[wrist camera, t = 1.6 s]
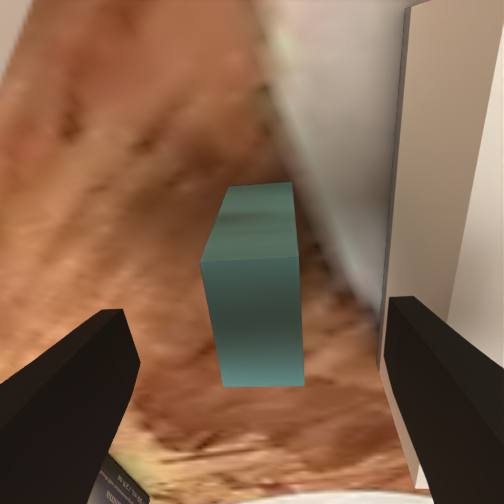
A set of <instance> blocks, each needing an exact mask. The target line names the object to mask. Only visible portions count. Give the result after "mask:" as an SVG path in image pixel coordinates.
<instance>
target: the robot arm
mask: <svg viewBox="0 0 504 504" xmlns="http://www.w3.org/2000/svg"><path fill="white" fill-rule="evenodd" d="M383 356H384V360H385V364H386V368H387V373H388V377H389V381H390V384H391V388H392V392H393V395H394V397H395V400H396V403H397V405H398V408H399V411H400V413H401V416H402V419H403V421H404V424H405V426H406V429H407V432H408V434H409V437H410V439H411V442H412V444H413V447H414V450H415V452H416V455H417V457H418V460H419V463H420V465H421V468H422V470H423V473H424V475H425V478H426V481H427V484H428V486H429V489H430V492H431V495H432V498H433V501H434V504H504V368H503V367H501V366H500V365H499V364H497V363H496V362H494V361H493V360H492V359H490V358H489V357H488V356H487V355H485V354H484V353H483V352H481V351H480V350H479V349H477V348H476V347H475V346H474V345H472V344H471V343H470V342H469V341H467V340H466V339H465V338H464V337H462V336H461V335H460V334H459V333H457V332H456V331H455V330H454V329H453V328H451V327H450V326H449V325H448V324H447V323H445V322H444V321H443V320H442V319H441V318H439V317H438V316H437V315H436V314H435V313H433V312H432V311H431V310H430V309H429V308H428V307H426V306H425V305H424V304H423V303H422V302H421V301H419V300H418V299H417V298H416V297H414V296H397V297H389V302H388V312H387V323H386V334H385V344H384V355H383ZM140 363H141V362H140V359H139V356H138V353H137V350H136V347H135V344H134V341H133V338H132V335H131V332H130V329H129V326H128V323H127V320H126V317H125V314H124V311H123V309H105V310H101V311H99V312H98V313H96V314H95V315H93V316H92V317H90V318H89V319H88V320H86V321H85V322H84V323H82V324H81V325H80V326H78V327H77V328H76V329H74V330H73V331H72V332H70V333H69V334H68V335H66V336H65V337H64V338H63V339H61V340H60V341H59V342H57V343H56V344H55V345H53V346H52V347H51V348H49V349H48V350H47V351H45V352H44V353H43V354H41V355H40V356H39V357H38V358H36V359H35V360H34V361H32V362H31V363H29V364H28V365H27V366H25V367H24V368H22V369H21V370H20V371H18V372H17V373H15V374H14V375H13V376H11V377H10V378H8V379H7V380H5V381H4V382H3V383H1V384H0V504H87V503H88V500H89V497H90V494H91V492H92V489H93V486H94V484H95V481H96V479H97V476H98V474H99V472H100V469H101V467H102V465H103V462H104V460H105V458H106V455H107V453H108V451H109V448H110V446H111V444H112V441H113V439H114V437H115V434H116V432H117V430H118V427H119V425H120V423H121V420H122V418H123V416H124V413H125V411H126V408H127V406H128V404H129V401H130V399H131V396H132V392H133V389H134V386H135V382H136V379H137V375H138V371H139V367H140Z"/></svg>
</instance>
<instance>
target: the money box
mask: <svg viewBox="0 0 504 504" xmlns="http://www.w3.org/2000/svg"><path fill="white" fill-rule="evenodd" d="M397 296H414V297H416V298H417V299H418V300H419V301H421V302H422V303H423V304H424V305H425V306H426V307H428V308H429V309H430V310H431V311H432V312H433V313H435V314H436V315H437V316H438V317H439V318H441V319H442V320H443V321H444V322H445V323H447V324H448V325H449V326H450V327H451V328H453V329H454V330H455V331H456V332H457V333H459V334H460V335H461V336H462V337H464V338H465V339H466V340H467V341H469V342H470V343H471V344H472V345H474V346H475V347H476V348H477V349H479V350H480V351H481V352H483V353H484V354H485V355H487V356H488V357H489V358H490V359H492V360H493V361H494V362H496V363H497V364H499V365H500V366H501V367H503V368H504V0H430V1H427V2H424V3H421V4H418V5H415V6H412V7H409V8H406V9H405V19H404V31H403V43H402V56H401V68H400V80H399V93H398V105H397V117H396V129H395V142H394V154H393V166H392V179H391V191H390V203H389V215H388V228H387V240H386V252H385V265H384V277H383V289H382V302H381V314H380V326H379V338H378V351H377V363H376V364H377V367H378V371H379V374H380V377H381V380H382V383H383V387H384V390H385V393H386V396H387V400H388V403H389V406H390V409H391V412H392V416H393V419H394V422H395V425H396V429H397V432H398V435H399V438H400V442H401V445H402V448H403V451H404V454H405V458H406V461H407V464H408V467H409V471H410V474H411V477H412V480H413V483H414V487H415V488H422V489H429V486H428V484H427V481H426V478H425V475H424V473H423V470H422V468H421V465H420V463H419V460H418V457H417V455H416V452H415V450H414V447H413V444H412V442H411V439H410V437H409V434H408V432H407V429H406V426H405V424H404V421H403V419H402V416H401V413H400V411H399V408H398V405H397V403H396V400H395V397H394V395H393V392H392V388H391V384H390V381H389V377H388V373H387V368H386V364H385V360H384V356H383V355H384V344H385V334H386V323H387V312H388V302H389V297H397Z"/></svg>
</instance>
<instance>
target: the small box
mask: <svg viewBox="0 0 504 504" xmlns="http://www.w3.org/2000/svg"><path fill="white" fill-rule="evenodd" d="M149 501H150V499H149V498H148V496H147V495H145V494H144V492H143V491H142V490H141V489H140V488H139V487H138V486H137V485H136V484H135V483H134V482H133V481H132V480H131V479H130V478H129V477H128V476H127V475H126V474H125V473H124V471H123V470H122V469H121V468H120V467H119V466H118V465H117V464H116V463H115V462H114V461H113V460H112V459H111V458H110V457H109V455H108V454H107V455H106V458H105V460H104V462H103V465H102V467H101V469H100V472H99V474H98V476H97V479H96V481H95V484H94V486H93V489H92V492H91V494H90V497H89V500H88V503H87V504H149Z"/></svg>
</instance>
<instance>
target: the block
mask: <svg viewBox="0 0 504 504" xmlns="http://www.w3.org/2000/svg"><path fill="white" fill-rule="evenodd" d="M200 267H201V273H202V278H203V283H204V288H205V293H206V299H207V304H208V309H209V314H210V319H211V324H212V330H213V335H214V340H215V345H216V350H217V356H218V361H219V366H220V371H221V376H222V382H223V387H269V386H305V382H304V360H303V338H302V315H301V293H300V271H299V253H298V242H297V231H296V220H295V209H294V198H293V187H292V182H280V183H267V184H254V185H241V186H229V187H228V189H227V192H226V195H225V197H224V200H223V202H222V205H221V208H220V210H219V213H218V215H217V218H216V220H215V223H214V226H213V228H212V231H211V233H210V236H209V239H208V241H207V244H206V246H205V249H204V252H203V254H202V257H201V259H200Z"/></svg>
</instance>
